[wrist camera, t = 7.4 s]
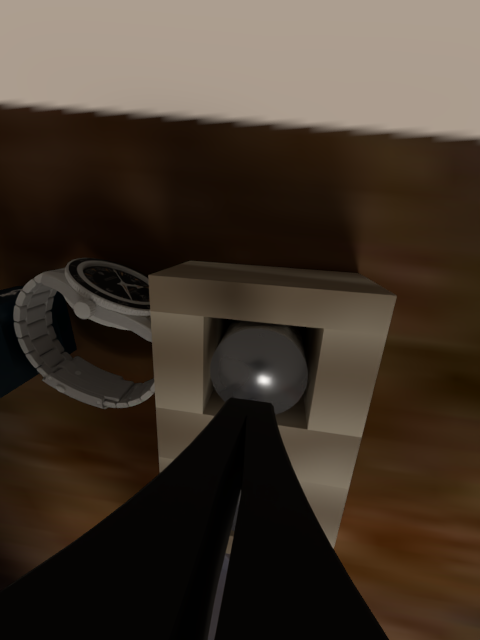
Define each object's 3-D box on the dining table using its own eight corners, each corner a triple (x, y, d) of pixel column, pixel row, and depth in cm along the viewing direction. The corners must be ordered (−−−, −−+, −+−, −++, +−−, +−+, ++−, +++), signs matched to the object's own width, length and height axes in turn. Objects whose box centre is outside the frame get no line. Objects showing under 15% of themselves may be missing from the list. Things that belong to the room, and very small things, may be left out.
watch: (8, 254, 17) (182, 252, 15) (41, 370, 19) (193, 376, 18) (-115, 267, 11) (135, 265, 10) (-45, 425, 14) (160, 439, 13)
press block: (316, 488, 19) (327, 574, 14) (191, 467, 20) (163, 540, 15) (358, 273, 14) (396, 295, 9) (190, 260, 15) (148, 275, 10)
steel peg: (296, 367, 16) (301, 422, 11) (229, 359, 16) (209, 409, 12) (305, 302, 15) (314, 335, 10) (232, 295, 15) (210, 324, 11)
